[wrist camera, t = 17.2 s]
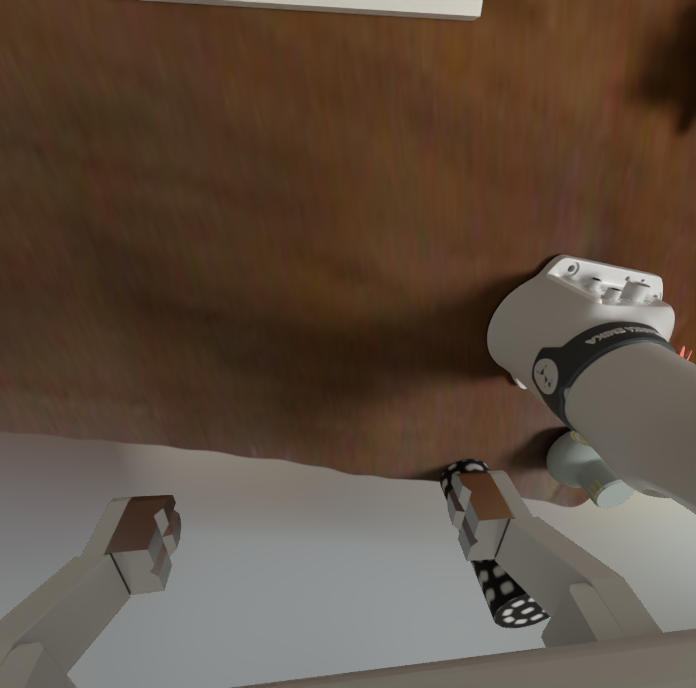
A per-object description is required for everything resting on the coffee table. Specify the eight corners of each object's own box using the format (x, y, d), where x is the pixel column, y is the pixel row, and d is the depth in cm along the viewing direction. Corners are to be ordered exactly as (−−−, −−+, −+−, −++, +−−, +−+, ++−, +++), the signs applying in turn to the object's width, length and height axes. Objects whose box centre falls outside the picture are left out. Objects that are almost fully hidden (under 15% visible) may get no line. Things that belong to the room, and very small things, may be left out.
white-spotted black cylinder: (473, 451, 59) (544, 583, 42) (497, 475, 63) (572, 606, 46) (430, 478, 61) (481, 614, 44) (456, 500, 65) (513, 634, 48)
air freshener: (611, 424, 60) (664, 473, 51) (590, 461, 64) (636, 513, 55) (549, 424, 58) (592, 475, 50) (531, 462, 62) (568, 516, 54)
